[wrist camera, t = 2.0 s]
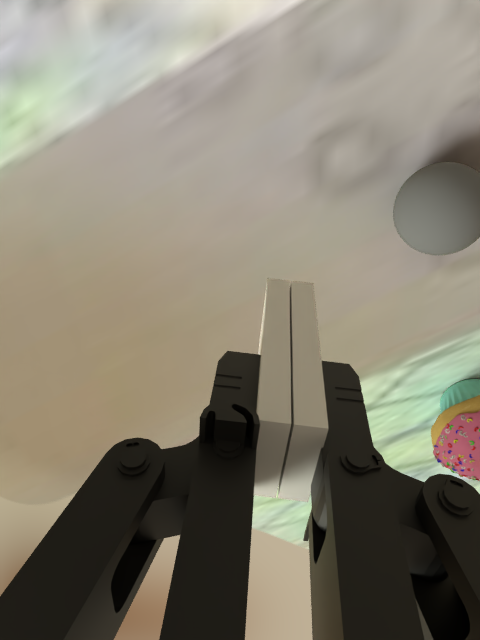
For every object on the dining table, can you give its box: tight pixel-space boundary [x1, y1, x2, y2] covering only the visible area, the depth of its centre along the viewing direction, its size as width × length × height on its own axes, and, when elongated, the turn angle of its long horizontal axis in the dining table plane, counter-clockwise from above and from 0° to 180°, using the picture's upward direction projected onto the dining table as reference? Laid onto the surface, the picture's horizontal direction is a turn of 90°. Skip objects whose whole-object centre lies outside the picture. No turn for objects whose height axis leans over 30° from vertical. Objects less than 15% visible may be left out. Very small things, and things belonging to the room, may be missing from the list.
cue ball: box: [393, 162, 480, 255], centre depth 27 cm, size 6×6×6 cm
